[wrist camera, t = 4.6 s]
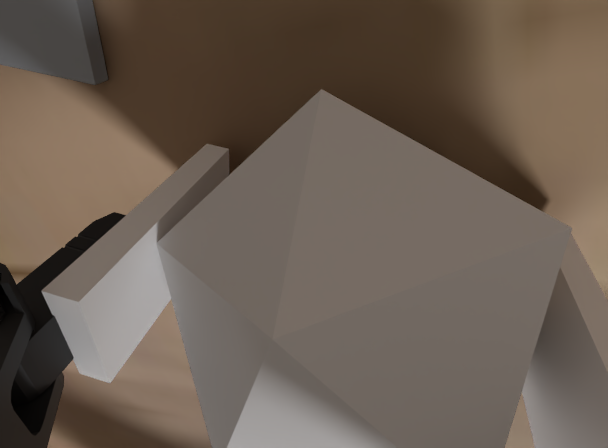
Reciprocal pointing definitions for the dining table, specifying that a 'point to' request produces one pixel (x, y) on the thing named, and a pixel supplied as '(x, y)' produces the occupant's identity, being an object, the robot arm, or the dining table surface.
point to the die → (359, 292)
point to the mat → (52, 39)
